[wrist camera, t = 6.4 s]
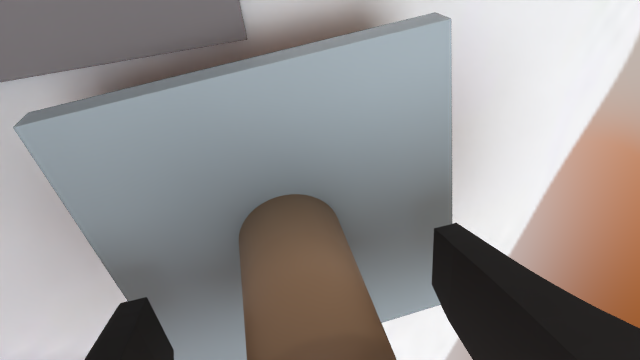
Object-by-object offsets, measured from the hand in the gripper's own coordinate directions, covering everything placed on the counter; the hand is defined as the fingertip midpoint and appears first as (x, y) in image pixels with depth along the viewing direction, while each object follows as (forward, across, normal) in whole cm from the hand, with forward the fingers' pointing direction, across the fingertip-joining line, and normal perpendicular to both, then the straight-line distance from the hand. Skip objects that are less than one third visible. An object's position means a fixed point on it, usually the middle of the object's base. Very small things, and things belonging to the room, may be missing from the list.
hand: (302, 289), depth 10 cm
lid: (+2, 0, 0) cm, 2 cm away
